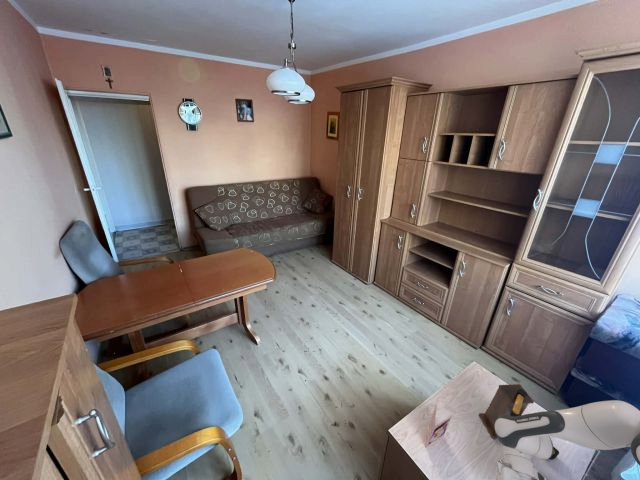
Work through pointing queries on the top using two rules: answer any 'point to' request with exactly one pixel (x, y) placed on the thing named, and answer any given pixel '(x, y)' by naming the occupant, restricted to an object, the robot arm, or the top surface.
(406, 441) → the top surface
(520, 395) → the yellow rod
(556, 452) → the tape measure
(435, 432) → the greeting card
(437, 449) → the top surface
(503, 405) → the pedestal
